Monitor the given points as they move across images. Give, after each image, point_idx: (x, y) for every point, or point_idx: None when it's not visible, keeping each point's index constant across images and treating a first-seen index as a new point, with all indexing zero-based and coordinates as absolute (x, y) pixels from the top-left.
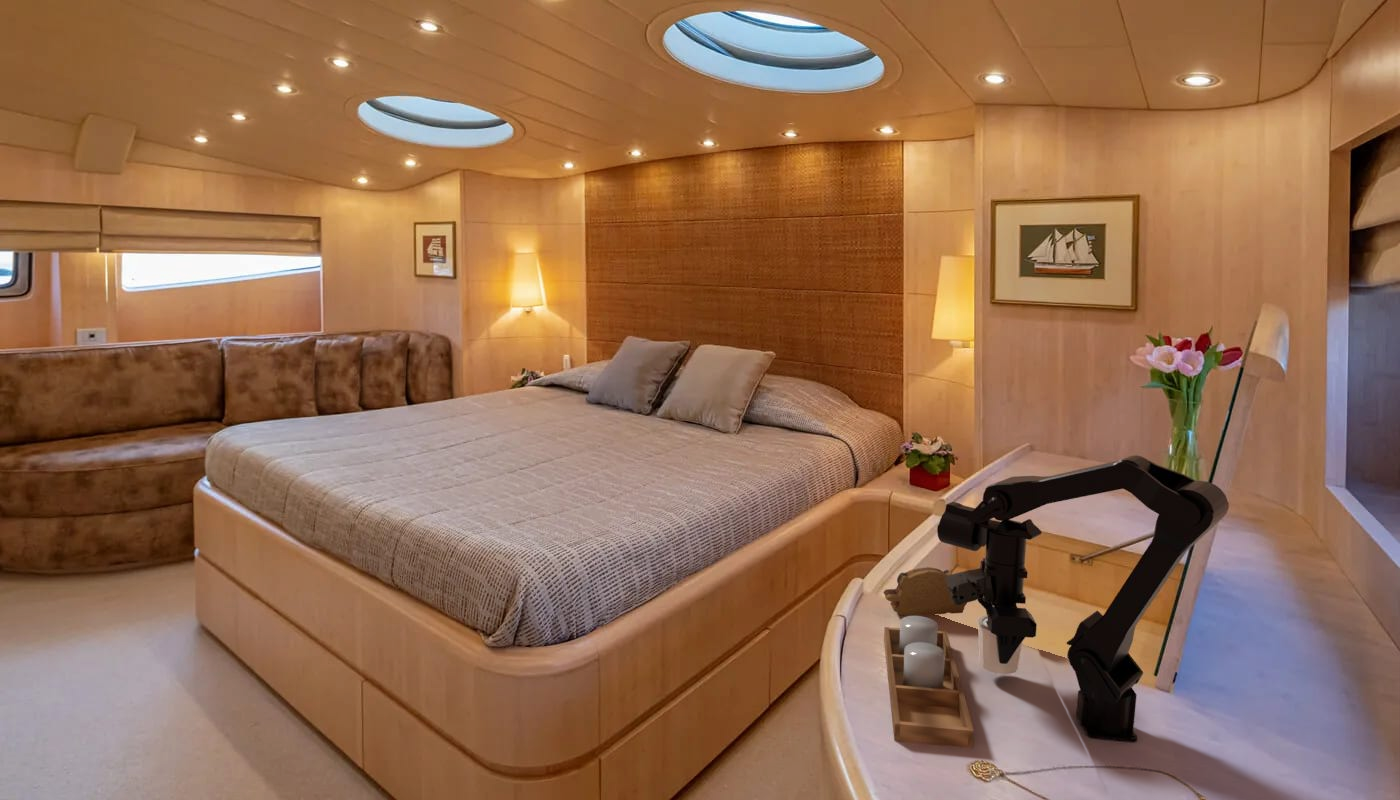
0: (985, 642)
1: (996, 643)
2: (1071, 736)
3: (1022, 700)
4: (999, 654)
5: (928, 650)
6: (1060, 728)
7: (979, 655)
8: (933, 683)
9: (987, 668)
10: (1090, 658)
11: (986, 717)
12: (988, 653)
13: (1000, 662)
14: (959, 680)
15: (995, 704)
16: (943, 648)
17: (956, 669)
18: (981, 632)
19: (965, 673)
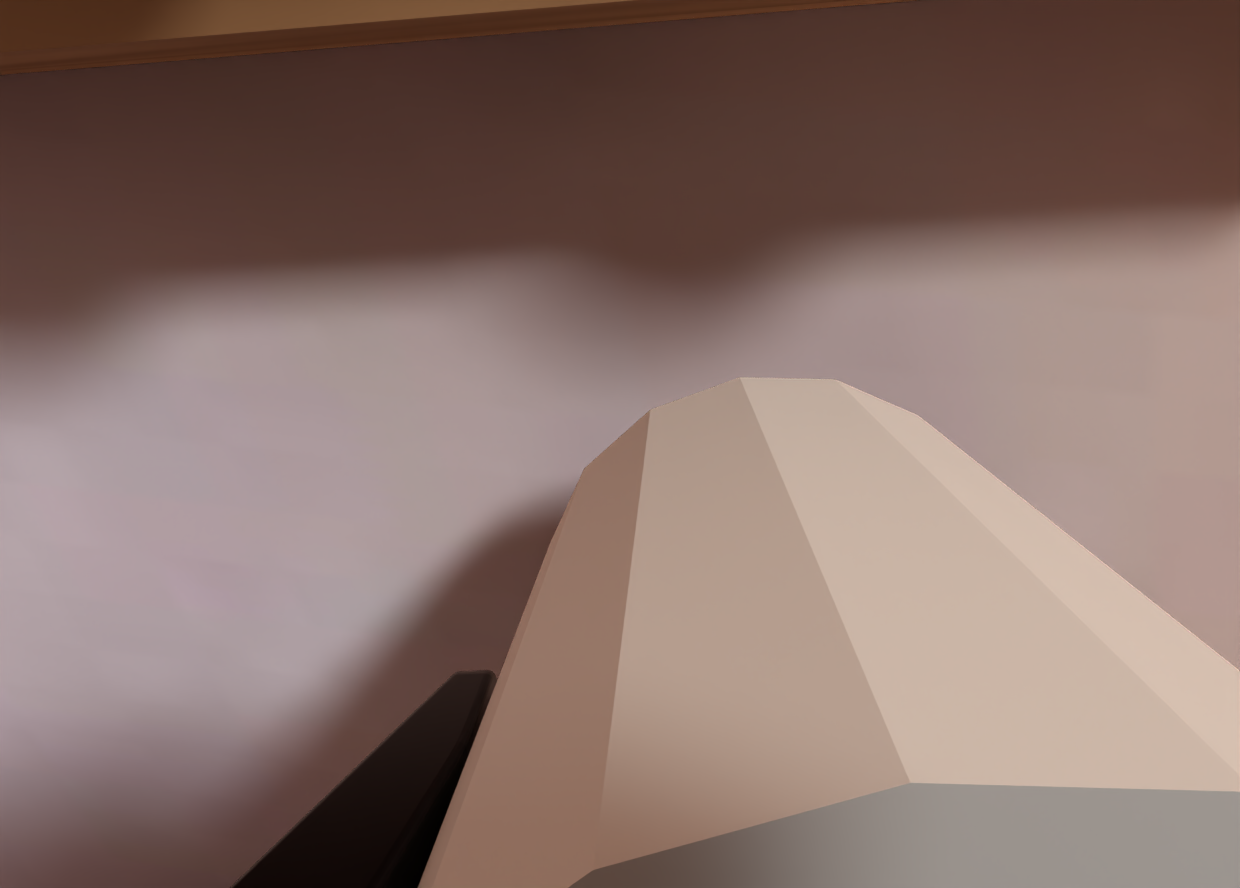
0: (573, 644)
1: (430, 861)
2: (99, 855)
3: (491, 639)
4: (355, 769)
5: None
6: (172, 814)
7: (838, 403)
8: None
9: (600, 460)
10: None
11: (66, 319)
12: (557, 579)
13: (455, 681)
14: (90, 36)
15: (340, 422)
16: None
17: (425, 7)
18: (687, 696)
19: (913, 179)
